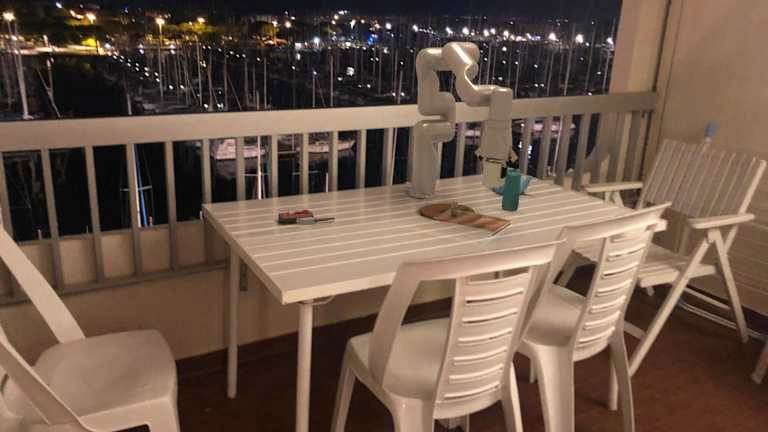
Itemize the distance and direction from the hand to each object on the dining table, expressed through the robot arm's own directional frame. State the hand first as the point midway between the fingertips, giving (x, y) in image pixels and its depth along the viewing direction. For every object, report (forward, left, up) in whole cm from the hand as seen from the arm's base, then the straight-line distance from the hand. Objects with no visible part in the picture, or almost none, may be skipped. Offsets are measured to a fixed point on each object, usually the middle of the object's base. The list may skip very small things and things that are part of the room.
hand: (494, 175), depth 210 cm
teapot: (-13, +52, -19) cm, 57 cm away
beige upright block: (0, 0, -3) cm, 3 cm away
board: (-7, 0, -19) cm, 20 cm away
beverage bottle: (-1, +22, -19) cm, 29 cm away
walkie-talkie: (-55, -36, -19) cm, 69 cm away
